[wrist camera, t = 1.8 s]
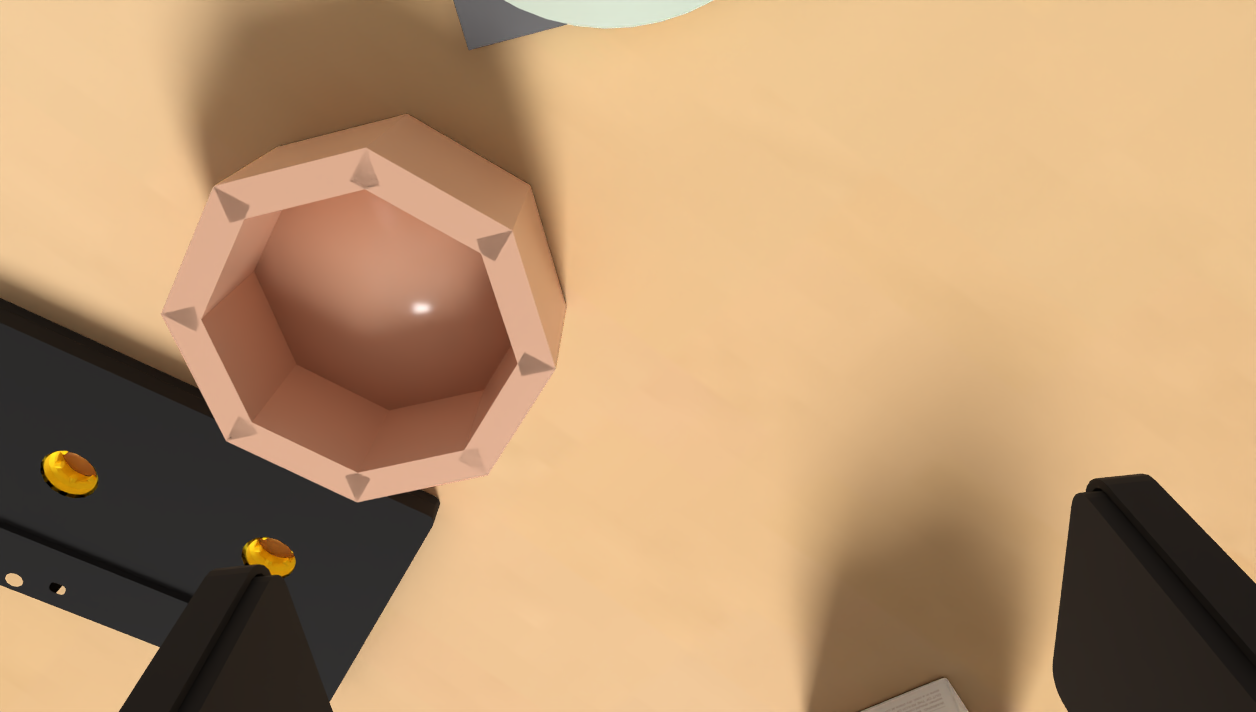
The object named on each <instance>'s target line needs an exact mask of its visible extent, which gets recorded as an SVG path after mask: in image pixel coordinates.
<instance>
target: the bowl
mask: <svg viewBox="0 0 1256 712" xmlns="http://www.w3.org/2000/svg"><path fill="white" fill-rule="evenodd" d="M565 313H566V303H565V300H564V297H563V293H562V290H561V287H560V283H559V280H558V276H557V273H556V270H555V266H554V263H553V260H552V256H551V253H550V250H549V246H548V243H547V239H546V236H545V233H544V229H543V226H542V223H541V219H540V216H539V213H538V209H537V206H536V202H535V199H534V196H533V192H532V189H531V186H530V185H529V184H527V183H526V182H524V181H522V180H520V179H519V178H517V177H515V176H514V175H512V174H510V173H508V172H507V171H505V170H503V169H502V168H500V167H498V166H496V165H495V164H493V163H491V162H490V161H488V160H486V159H484V158H483V157H481V156H479V155H478V154H476V153H474V152H472V151H471V150H469V149H467V148H465V147H464V146H462V145H460V144H459V143H457V142H455V141H453V140H452V139H450V138H448V137H447V136H445V135H443V134H441V133H440V132H438V131H436V130H435V129H433V128H431V127H429V126H428V125H426V124H424V123H422V122H421V121H419V120H417V119H416V118H414V117H412V116H410V115H409V114H404V115H400V116H396V117H392V118H388V119H384V120H380V121H376V122H372V123H369V124H365V125H361V126H357V127H353V128H349V129H345V130H341V131H337V132H333V133H329V134H326V135H322V136H318V137H314V138H310V139H306V140H302V141H298V142H294V143H290V144H287V145H283V146H279V147H276V148H274V149H273V150H271V151H270V152H268V153H266V154H265V155H263V156H261V157H260V158H258V159H257V160H255V161H253V162H252V163H250V164H248V165H247V166H245V167H243V168H242V169H240V170H239V171H237V172H235V173H234V174H232V175H230V176H229V177H227V178H226V179H224V180H222V181H221V182H219V183H217V184H216V185H214V186H213V188H212V190H211V193H210V195H209V198H208V200H207V203H206V205H205V207H204V210H203V212H202V215H201V217H200V220H199V222H198V225H197V227H196V229H195V232H194V234H193V237H192V239H191V242H190V244H189V247H188V249H187V251H186V254H185V256H184V259H183V261H182V264H181V266H180V269H179V271H178V273H177V276H176V278H175V281H174V283H173V286H172V288H171V291H170V293H169V295H168V298H167V300H166V303H165V305H164V308H163V310H162V313H161V315H162V317H163V319H164V321H165V323H166V325H167V327H168V329H169V331H170V333H171V335H172V337H173V339H174V341H175V342H176V344H177V346H178V348H179V350H180V352H181V354H182V356H183V358H184V360H185V362H186V364H187V366H188V368H189V370H190V372H191V374H192V376H193V378H194V379H195V381H196V383H197V385H198V387H199V389H200V391H201V393H202V395H203V397H204V399H205V401H206V403H207V405H208V407H209V409H210V411H211V413H212V415H213V416H214V418H215V420H216V422H217V424H218V426H219V428H220V430H221V432H222V434H223V436H224V438H225V440H226V441H227V442H229V443H231V444H233V445H236V446H238V447H240V448H242V449H244V450H246V451H248V452H251V453H253V454H255V455H257V456H259V457H261V458H263V459H265V460H268V461H270V462H272V463H274V464H276V465H278V466H280V467H283V468H285V469H287V470H289V471H291V472H293V473H295V474H298V475H300V476H302V477H304V478H306V479H308V480H310V481H312V482H315V483H317V484H319V485H321V486H323V487H325V488H327V489H330V490H332V491H334V492H336V493H338V494H340V495H342V496H345V497H347V498H349V499H351V500H353V501H355V502H361V501H366V500H371V499H376V498H380V497H385V496H390V495H395V494H400V493H405V492H409V491H414V490H419V489H424V488H429V487H434V486H438V485H443V484H448V483H453V482H458V481H462V480H467V479H472V478H477V477H482V476H487V475H488V474H489V473H490V471H491V469H492V468H493V466H494V465H495V463H496V462H497V460H498V459H499V457H500V455H501V454H502V452H503V451H504V449H505V448H506V446H507V444H508V443H509V441H510V440H511V438H512V437H513V435H514V433H515V432H516V430H517V429H518V427H519V426H520V424H521V423H522V421H523V419H524V418H525V416H526V415H527V413H528V412H529V410H530V408H531V407H532V405H533V404H534V402H535V401H536V399H537V398H538V396H539V394H540V393H541V391H542V390H543V388H544V387H545V385H546V383H547V382H548V380H549V379H550V377H551V376H552V374H553V372H554V371H555V369H556V365H557V359H558V353H559V348H560V342H561V336H562V330H563V325H564V319H565Z"/></svg>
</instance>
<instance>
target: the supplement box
mask: <svg viewBox="0 0 1256 712" xmlns="http://www.w3.org/2000/svg"><path fill="white" fill-rule="evenodd" d="M860 712H969V711H968V710H967V708H966V707H965V705H964V704H963V702H962V701H961V699H960V698H959V696H958V694H957V693H956V691H955V690H954V688H953V687H952V685H951V684H950V682H949V681H948V679H946V678H942V679H939V680H936V681H934V682H931V683H929V684H927V685H924V686H921V687H919V688H916V689H914V690H911V691H909V692H907V693H904V694H902V695H900V696H897V697H895V698H892V699H889V700H887V701H885V702H883V703H880V704H878V705H875V706H873V707H870V708H867V709H865V710H863V711H860Z"/></svg>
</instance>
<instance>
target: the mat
mask: <svg viewBox="0 0 1256 712" xmlns="http://www.w3.org/2000/svg"><path fill="white" fill-rule="evenodd" d="M453 1H454V4H455V7H456V11H457V14H458V17H459V20H460V24H461V27H462V30H463V33H464V37H465V40H466V43H467V47H468V50H472V49H475V48H479V47H483V46H487V45H491V44H494V43H498V42H502V41H506V40H510V39H514V38H517V37H521V36H525V35H529V34H533V33H536V32H540V31H544V30H548V29H552V28H556V27H559V26H563V25H567V24H566V23H561V22H557V21H553V20H549V19H545V18H543V17H540V16H537V15H535V14H532V13H530V12H527V11H524V10H522V9H519V8H517V7H515V6H514V5H512V4H510V3H508V2H506V1H504V0H453Z"/></svg>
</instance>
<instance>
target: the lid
mask: <svg viewBox="0 0 1256 712" xmlns="http://www.w3.org/2000/svg"><path fill="white" fill-rule="evenodd" d="M504 1H506V2H508V3H510V4H512V5H514V6H515V7H517V8H519V9H522V10H524V11H527V12H530V13H532V14H535V15H537V16H540V17H543V18H545V19H549V20H553V21H557V22H561V23H566V24H570V25H574V26H583V27H594V28H624V27H636V26H641V25H646V24H652V23H657V22H662V21H665V20H668V19H671V18H674V17H677V16H680V15H683V14H686V13H689V12H691V11H693V10H695V9H697V8H699V7H701V6H703V5H705V4H707V3H709V2H711V1H713V0H504Z"/></svg>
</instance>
